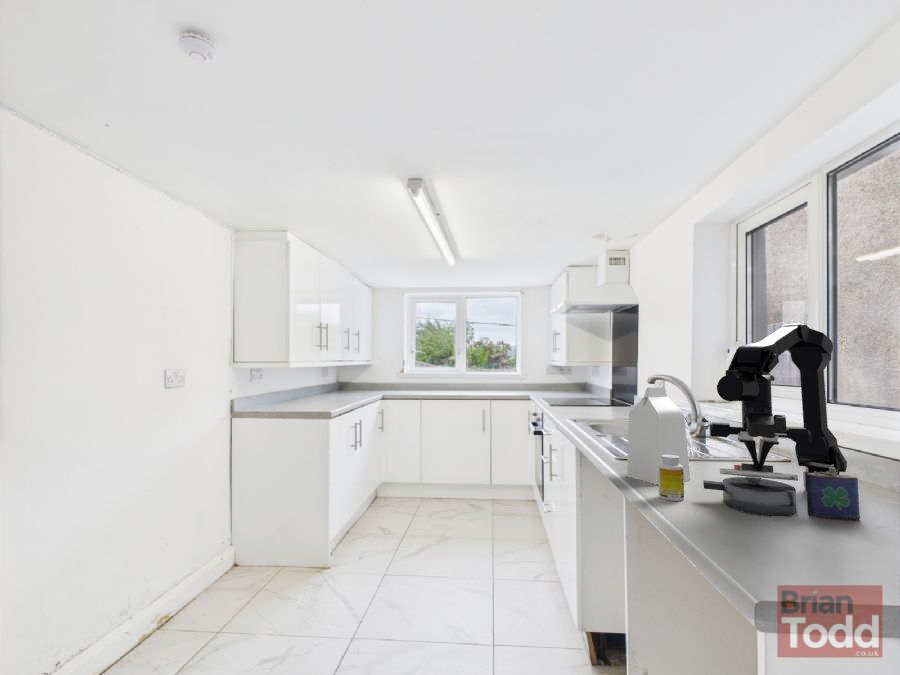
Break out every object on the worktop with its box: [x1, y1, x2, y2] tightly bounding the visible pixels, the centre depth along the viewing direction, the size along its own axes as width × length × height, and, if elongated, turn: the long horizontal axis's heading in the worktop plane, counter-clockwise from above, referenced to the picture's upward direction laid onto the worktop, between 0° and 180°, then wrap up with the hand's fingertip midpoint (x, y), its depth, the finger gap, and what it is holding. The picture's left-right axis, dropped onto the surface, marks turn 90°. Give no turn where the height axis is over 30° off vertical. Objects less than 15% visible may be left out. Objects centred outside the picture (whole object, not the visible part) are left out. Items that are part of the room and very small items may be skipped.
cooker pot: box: [702, 476, 798, 517], centre depth 109 cm, size 18×16×5 cm
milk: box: [626, 386, 691, 486], centre depth 134 cm, size 12×12×26 cm
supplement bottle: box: [658, 455, 685, 502], centre depth 114 cm, size 6×6×10 cm
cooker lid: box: [719, 462, 799, 482], centre depth 108 cm, size 15×15×3 cm
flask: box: [806, 467, 861, 522], centre depth 100 cm, size 9×3×11 cm, turn 74°
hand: (758, 471), depth 104 cm, fingers closed, pressing on cooker lid
